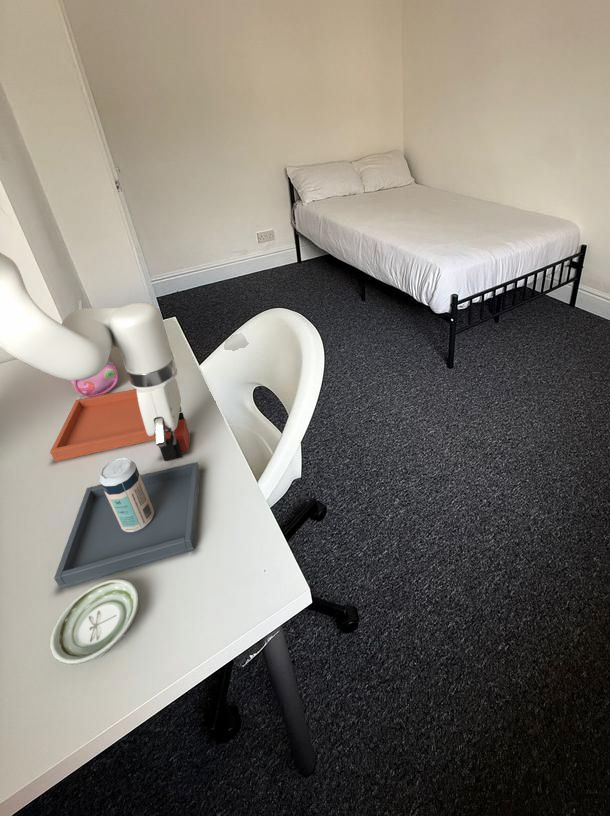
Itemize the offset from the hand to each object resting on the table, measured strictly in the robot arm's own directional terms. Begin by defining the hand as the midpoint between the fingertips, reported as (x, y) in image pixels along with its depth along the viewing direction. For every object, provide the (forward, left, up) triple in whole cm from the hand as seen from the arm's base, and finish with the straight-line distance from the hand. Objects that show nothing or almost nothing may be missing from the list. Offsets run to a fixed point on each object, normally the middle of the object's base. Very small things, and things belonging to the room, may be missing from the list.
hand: (176, 442), depth 82 cm
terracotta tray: (-13, +11, -1) cm, 17 cm away
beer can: (-4, -16, 0) cm, 17 cm away
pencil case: (-22, +31, -1) cm, 38 cm away
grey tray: (-4, -16, -1) cm, 17 cm away
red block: (0, 0, -1) cm, 1 cm away
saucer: (-6, -31, -1) cm, 32 cm away
